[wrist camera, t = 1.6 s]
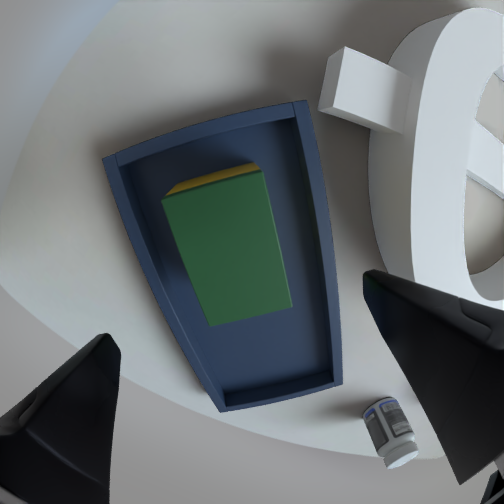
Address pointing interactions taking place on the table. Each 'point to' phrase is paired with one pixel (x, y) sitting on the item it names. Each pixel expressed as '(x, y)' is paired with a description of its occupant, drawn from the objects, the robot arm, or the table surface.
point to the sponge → (229, 243)
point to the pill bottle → (390, 432)
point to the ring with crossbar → (427, 144)
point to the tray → (291, 242)
